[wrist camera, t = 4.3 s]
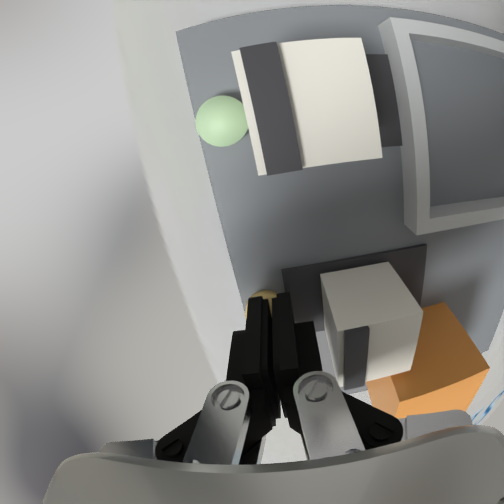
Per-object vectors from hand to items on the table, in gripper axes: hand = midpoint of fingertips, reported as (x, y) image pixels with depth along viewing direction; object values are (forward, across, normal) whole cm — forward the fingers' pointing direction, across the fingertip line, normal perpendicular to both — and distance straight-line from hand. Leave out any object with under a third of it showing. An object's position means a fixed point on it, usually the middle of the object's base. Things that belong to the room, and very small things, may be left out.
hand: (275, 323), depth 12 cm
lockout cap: (+1, -7, +4) cm, 8 cm away
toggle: (+1, -2, -8) cm, 8 cm away
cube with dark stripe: (+1, -4, 0) cm, 4 cm away
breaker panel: (+3, -7, -2) cm, 8 cm away
